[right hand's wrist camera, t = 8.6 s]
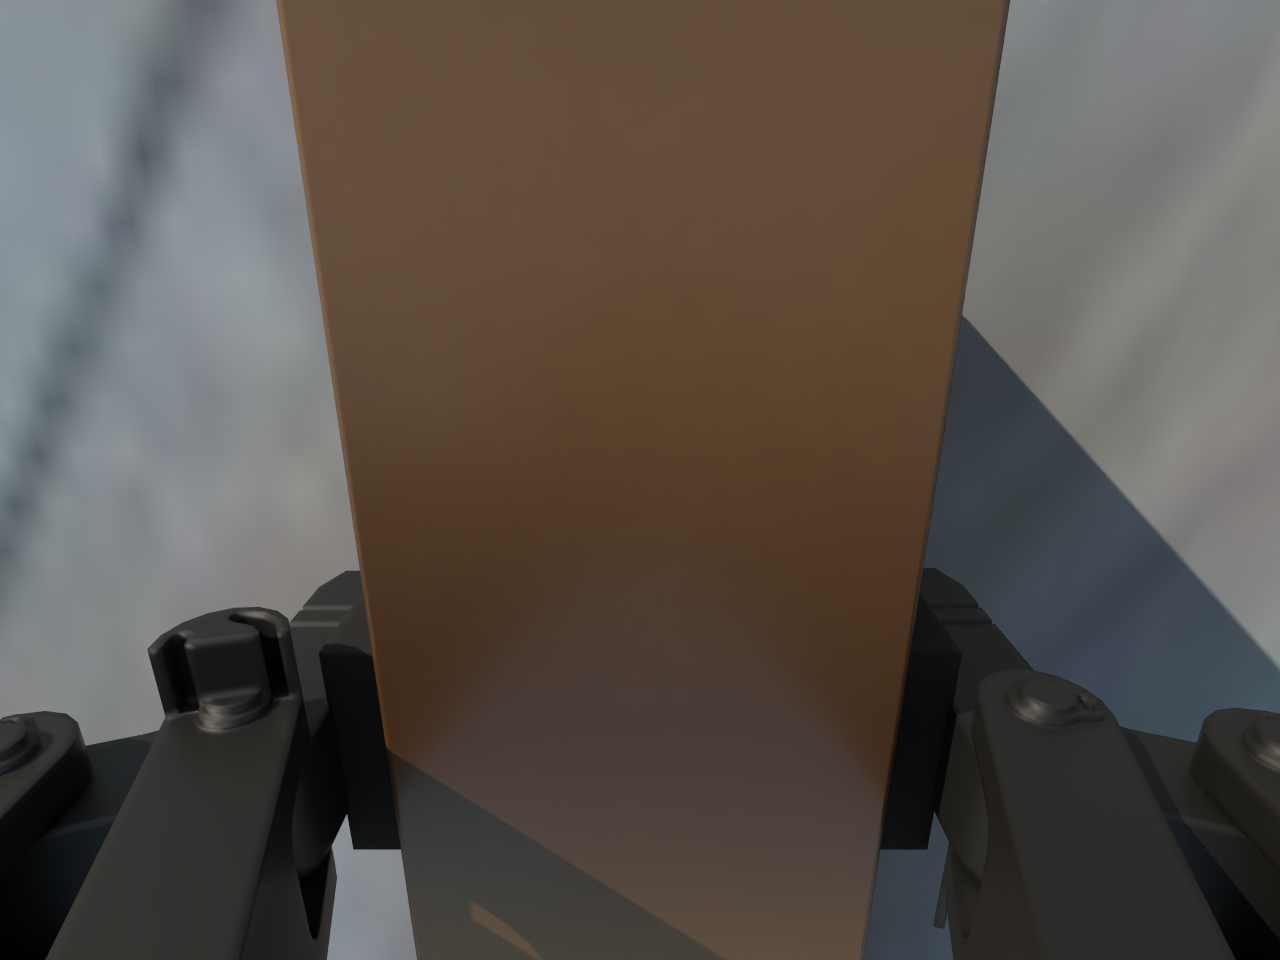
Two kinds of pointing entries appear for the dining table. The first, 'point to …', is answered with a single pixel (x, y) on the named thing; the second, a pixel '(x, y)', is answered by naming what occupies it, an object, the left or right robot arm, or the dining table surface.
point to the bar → (641, 440)
